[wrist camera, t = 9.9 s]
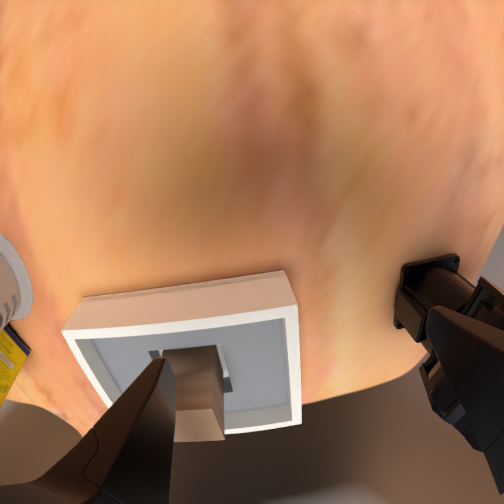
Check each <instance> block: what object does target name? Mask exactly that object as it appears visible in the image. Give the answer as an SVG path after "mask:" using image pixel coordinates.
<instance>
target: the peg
mask: <svg viewBox="0 0 504 504" xmlns="http://www.w3.org/2000/svg"><path fill="white" fill-rule="evenodd" d="M163 357H165V358H167V359H168V361H169V364H170V366H171V368H172V371H173V373H174V376H175V403H176V423H175V434H174V442H193V441H213V440H214V441H215V440H225V428H224V380H223V369H222V365H221V361H220V358H219V354H218V350H217V347H216V345H208V346H199V347H189V348H179V349H167V350H163V352H162V357H161V358H163Z"/></svg>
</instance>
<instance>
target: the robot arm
mask: <svg viewBox="0 0 504 504" xmlns="http://www.w3.org/2000/svg"><path fill="white" fill-rule="evenodd" d="M459 261H460V257H459V256H458V255H456V254H452V255H447V256H443V257H438V258H433V259H429V260H424V261H419V262H415V263H410V264H406V265H405V266H403V268H402V272H401V281H400V288H399V292H398V298H397V304H396V311H395V321H394V326H395V327H396V329H402V328H405V329H406V330H407V331H408V333H409V334H410V335H411V337H412V338H413V339H414V341H415V342H417V343H419V342H421V344H422V345H423V346H424V348H425V349H426V350H427V352H428V353H429V354H430V356H429V357H428V359H427V360H426V361H425V363H423V364H422V365H421V366H420V367H419V371H420V374H421V377H422V380H423V383H424V386H425V389H426V392H427V395H428V398H429V401H430V404H431V407H432V410H433V411H434V412H435V413H437V415H438V416H439V417H440V418H442V419H443V420H444V421H446V422H448V423H449V424H451V425H453V426H454V427H455V428H456V429H457V430H458V431H459V432H460V433H461V434H462V435H463V436H464V437H465V439H466V440H467V441H468V442H469V444H470V445H471V446H472V448H473V449H475V450H478V451H481V452H484V455H485V457H486V460H487V462H488V465H489V467H490V470H491V472H492V475H493V478H494V481H495V483H496V486H497V489H498V492H499V494H500V495H502V494H503V493H504V291H503V290H501V289H500V288H498V287H497V286H496V285H494V284H492V283H491V282H490V281H488V280H486V279H485V278H483V277H482V276H481V277H480V279H479V280H478V284H477V286H476V287H475V286H474V285H472V284H471V283H470V282H469V281H467V280H466V279H465V278H464V277H463V276H461V275H460V274H459V273H457V272H458V266H459ZM408 269H409V270H408ZM407 270H408V272H407ZM399 323H400V324H399ZM175 423H176V403H175V376H174V373H173V371H172V368H171V366H170V364H169V361H168V359H167V358H165V357H163V358H154V359H153V360H152V361H151V362H150V363H149V364H148V365H147V367H146V368H145V369H144V370H143V371H142V372H141V373H140V374H139V376H138V377H137V378H136V379H135V380H134V381H133V382H132V383H131V384H130V386H129V387H128V388H127V389H126V390H125V391H124V392H123V393H122V395H121V396H120V397H119V398H118V399H117V400H116V401H115V402H114V403H113V405H112V406H111V407H110V408H109V409H108V410H107V411H106V412H105V414H104V415H103V416H102V417H101V418H100V419H99V420H98V421H97V422H96V424H95V425H94V426H93V428H91V429H90V430H89V431H88V432H87V434H86V435H85V436H84V437H83V438H82V439H81V440H80V441H79V442H78V443H77V444H76V445H75V446H74V447H73V448H72V449H71V450H70V451H69V452H68V453H67V454H66V455H65V456H63V457H62V458H61V459H60V460H59V461H58V462H57V463H56V464H55V465H53V466H52V467H51V468H50V469H49V470H48V471H47V472H46V473H44V474H43V475H42V476H41V477H39V478H37V479H36V480H33V481H31V482H27V483H20V484H13V485H2V486H0V504H169V493H170V479H171V466H172V454H173V443H174V434H175Z"/></svg>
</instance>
